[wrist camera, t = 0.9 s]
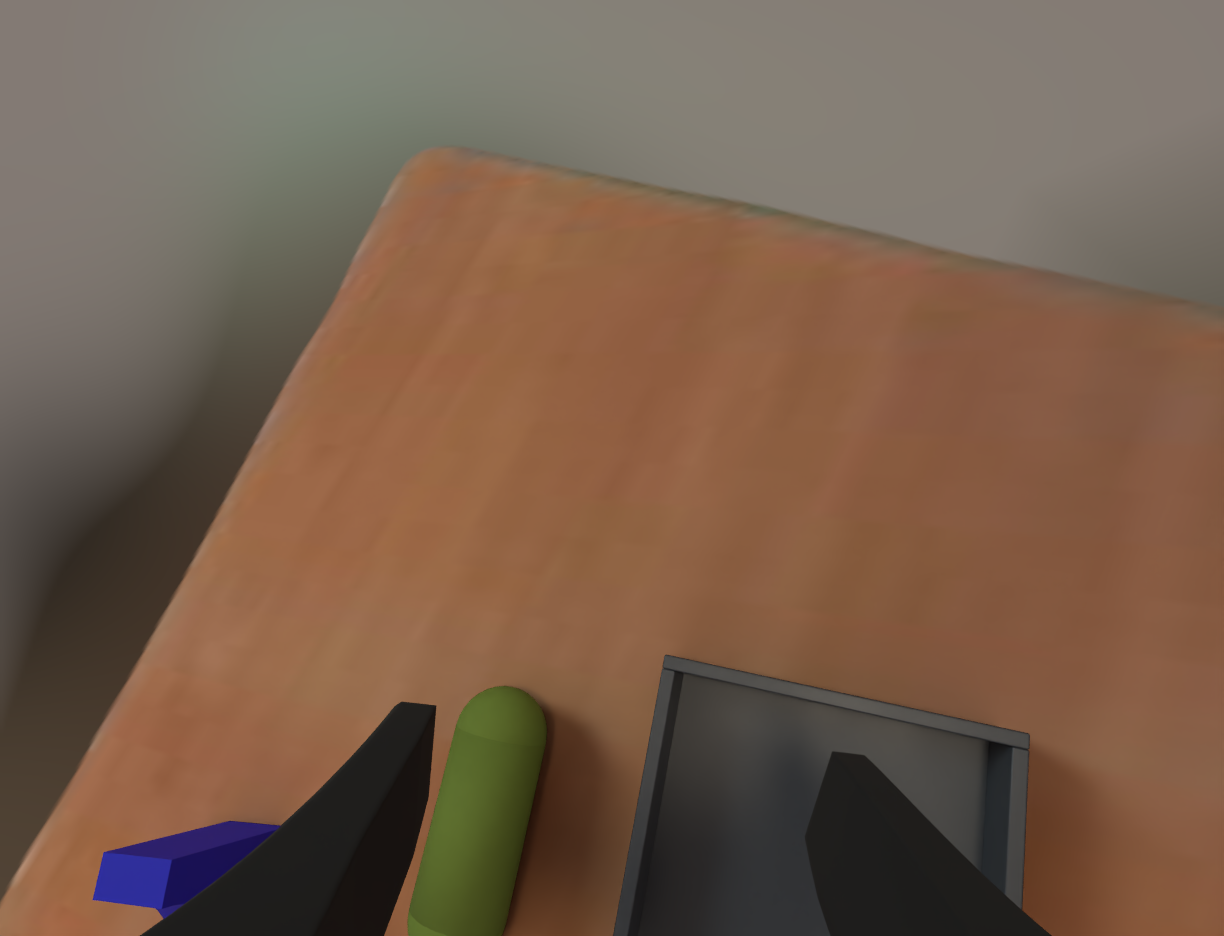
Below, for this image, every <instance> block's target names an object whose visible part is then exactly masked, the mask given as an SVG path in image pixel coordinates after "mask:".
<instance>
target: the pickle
mask: <svg viewBox="0 0 1224 936" xmlns="http://www.w3.org/2000/svg"><path fill="white" fill-rule="evenodd" d="M546 738H547V724H546V720H545V716H544V714H543V712H542V709H541V707H540V706H539V705H538V703H537V702H536V701H535V699H533V698H532V697H531V696H530V695H529V694H528V693H526V692H524V691H522V690H521V689H518V688H514V687H509V686H499V687H493V688H490V689H487V690H485V691H483V692H481V693H479V694H478V695H476V696H475V697H474V698H473V699H471V700H470V701H469V703H468V704H467V705H466V706H465V707H464V709H463V711H462V712H461V714H460V716H459V719H458V722H457V724H456V728H455V732H454V736H453V740H452V744H451V748H450V752H449V755H448V759H447V763H446V767H445V771H444V775H443V779H442V783H441V787H440V791H439V794H438V798H437V802H436V806H435V810H434V814H433V818H432V822H431V826H430V830H429V833H428V837H427V841H426V845H425V849H424V853H423V857H422V861H421V865H420V869H419V872H418V876H417V880H416V884H415V888H414V892H413V896H412V900H411V904H410V908H409V914H408V935H409V936H502V935H503V932H504V928H505V926H506V921H507V917H508V912H509V908H510V903H511V899H512V894H513V890H514V885H515V881H516V876H517V872H518V867H519V863H520V858H521V854H522V849H523V844H524V840H525V835H526V831H527V826H528V822H529V817H530V813H531V808H532V804H533V799H534V795H535V790H536V786H537V781H538V777H539V772H540V768H541V763H542V759H543V754H544V750H545V745H546Z"/></svg>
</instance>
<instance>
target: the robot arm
mask: <svg viewBox="0 0 1224 936" xmlns="http://www.w3.org/2000/svg"><path fill="white" fill-rule="evenodd" d="M435 715H436V706H435V705H426V704H418V703H409V702H400V703H399V704H397V705H396V706H394V708H393V709H392V710H391V711H390V713H389V714H388V715H387V716H386V718H385V719H384V720H383V721H382V722H381V724H380V725H379V726H378V727H377V728H376V730H375V731H374V732H373V733H372V734H371V735H370V736H369V738H368V739H367V740H366V741H365V742H364V743H363V744H362V745H361V747H360V748H359V749H358V750H357V751H356V752H355V753H354V754H353V755H352V756H351V758H350V759H349V760H348V761H347V762H346V763H345V764H344V765H343V766H342V767H341V768H340V769H339V770H338V771H337V772H336V773H335V774H334V775H333V776H332V777H331V778H330V779H329V780H328V781H327V782H326V783H325V784H324V785H323V786H322V787H321V788H320V789H319V790H318V791H317V792H316V793H315V794H314V795H313V796H312V797H311V798H310V799H309V800H308V801H307V802H306V803H305V804H304V805H303V806H302V807H301V808H299V809H298V810H297V811H296V812H295V813H294V814H293V815H292V816H291V817H290V818H289V819H288V820H287V821H286V822H284V823H283V824H282V825H281V826H280V827H279V828H278V829H277V830H276V831H275V832H274V833H272V834H271V835H270V836H269V837H268V838H267V839H266V840H264V841H263V842H262V843H261V844H260V845H259V846H257V847H256V848H255V849H254V850H253V851H252V852H250V853H249V854H248V855H247V856H246V857H244V858H243V859H242V860H241V861H239V862H238V863H237V864H236V865H234V866H233V867H232V868H231V869H229V870H228V871H227V872H226V873H225V874H223V875H222V876H221V877H220V878H218V879H217V880H216V881H214V882H213V883H212V884H210V885H209V886H208V887H206V888H205V889H204V890H202V891H201V892H200V893H198V894H197V895H196V896H194V897H193V898H192V899H190V900H189V901H188V902H186V903H185V904H184V905H182V906H181V907H180V908H178V909H177V910H176V911H174V912H173V913H172V914H170V915H169V916H167V917H166V918H165V919H163V920H162V921H160V922H159V923H157V924H156V925H155V926H153V927H152V928H150V929H149V930H147V931H146V932H145V933H143V934H142V935H140V936H384V934H385V932H386V929H387V926H388V923H389V921H390V918H391V915H392V913H393V910H394V907H395V905H396V902H397V899H398V896H399V894H400V891H401V888H402V886H403V883H404V880H405V877H406V875H407V872H408V869H409V866H410V864H411V861H412V858H413V855H414V851H415V847H416V843H417V840H418V836H419V832H420V828H421V824H422V821H423V817H424V813H425V809H426V805H427V801H428V797H429V785H430V774H431V762H432V750H433V739H434V727H435ZM805 841H806V846H807V851H808V856H809V861H810V866H811V871H812V875H813V879H814V884H815V888H816V892H817V897H818V900H819V903H820V906H821V909H822V912H823V915H824V918H825V921H826V924H827V927H828V930H829V933H830V936H1051V935H1050V934H1049V933H1048V932H1046V931H1045V930H1044V929H1043V928H1042V927H1041V926H1039V925H1038V924H1037V923H1036V922H1035V921H1034V920H1033V919H1031V918H1030V917H1029V916H1028V915H1027V914H1026V913H1025V912H1023V911H1022V910H1021V909H1020V908H1019V907H1018V906H1017V905H1016V904H1015V903H1014V902H1013V901H1011V900H1010V899H1009V898H1008V897H1007V896H1006V895H1005V894H1004V893H1003V892H1002V891H1001V890H1000V889H998V888H997V887H996V886H995V885H994V884H993V883H992V882H991V881H990V880H989V879H988V878H987V877H986V876H984V875H983V874H982V873H981V872H980V871H979V870H978V869H977V868H976V867H975V866H974V865H973V864H972V863H971V862H970V861H969V860H968V859H967V858H966V857H965V856H964V855H963V854H962V853H961V852H960V851H959V850H958V849H957V848H956V847H955V846H954V845H953V844H952V843H951V842H950V841H949V840H948V839H947V838H946V837H945V836H944V835H943V834H942V833H941V832H940V831H939V830H938V829H937V828H936V827H935V826H934V825H933V824H932V823H931V822H930V821H929V820H928V819H927V818H926V817H925V816H924V815H923V814H922V813H921V812H920V811H919V810H918V809H917V808H916V806H915V805H914V804H913V803H912V802H911V801H910V800H909V799H908V798H907V797H906V796H905V795H904V794H903V793H902V792H901V791H900V790H899V789H898V788H897V787H896V786H895V785H894V784H893V783H892V782H891V781H890V780H889V779H888V778H887V777H886V776H885V775H884V774H883V772H882V771H881V770H880V769H879V768H878V767H877V766H875V765H874V764H873V763H872V762H871V761H870V760H869V759H868V758H867V757H866V756H865V755H861V754H852V753H844V752H835V751H832V753H831V756H830V760H829V763H828V766H827V769H826V772H825V775H824V778H823V781H822V784H821V788H820V791H819V794H818V797H817V800H816V803H815V806H814V809H813V812H812V815H811V819H810V822H809V825H808V828H807V831H806V834H805Z"/></svg>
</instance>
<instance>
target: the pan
mask: <svg viewBox="0 0 1224 936" xmlns="http://www.w3.org/2000/svg"><path fill="white" fill-rule="evenodd" d="M663 668H664V669H662V673H661V678H660V684H659V689H658V695H657V700H656V706H655V711H654V716H653V722H652V727H651V733H650V738H649V744H648V749H647V754H646V760H645V765H644V771H643V776H642V782H641V787H640V792H639V798H638V803H637V809H636V814H635V820H634V825H633V830H632V836H631V841H630V847H629V852H628V858H627V863H626V868H625V874H624V879H623V885H622V890H621V896H620V901H619V906H618V912H617V917H616V923H615V928H614V934H613V936H830V933H829V930H828V927H827V924H826V921H825V918H824V915H823V912H822V909H821V906H820V903H819V900H818V897H817V892H816V888H815V884H814V879H813V875H812V871H811V866H810V861H809V856H808V851H807V846H806V841H805V834H806V831H807V828H808V825H809V822H810V819H811V815H812V812H813V809H814V806H815V803H816V800H817V797H818V794H819V791H820V788H821V784H822V781H823V778H824V775H825V772H826V769H827V766H828V763H829V760H830V756H831V753H832V751H835V752H844V753H852V754H861V755H865V756H866V757H867V758H868V759H869V760H870V761H871V762H872V763H873V764H874V765H875V766H877V767H878V768H879V769H880V770H881V771H882V772H883V774H884V775H885V776H886V777H887V778H888V779H889V780H890V781H891V782H892V783H893V784H894V785H895V786H896V787H897V788H898V789H899V790H900V791H901V792H902V793H903V794H904V795H905V796H906V797H907V798H908V799H909V800H910V801H911V802H912V803H913V804H914V805H915V806H916V808H917V809H918V810H919V811H920V812H921V813H922V814H923V815H924V816H925V817H926V818H927V819H928V820H929V821H930V822H931V823H932V824H933V825H934V826H935V827H936V828H937V829H938V830H939V831H940V832H941V833H942V834H943V835H944V836H945V837H946V838H947V839H948V840H949V841H950V842H951V843H952V844H953V845H954V846H955V847H956V848H957V849H958V850H959V851H960V852H961V853H962V854H963V855H964V856H965V857H966V858H967V859H968V860H969V861H970V862H971V863H972V864H973V865H974V866H975V867H976V868H977V869H978V870H979V871H980V872H981V873H982V874H983V875H984V876H986V877H987V878H988V879H989V880H990V881H991V882H992V883H993V884H994V885H995V886H996V887H997V888H998V889H1000V890H1001V891H1002V892H1003V893H1004V894H1005V895H1006V896H1007V897H1008V898H1009V899H1010V900H1011V901H1013V902H1014V903H1015V904H1016V905H1017V906H1018V907H1019V908H1020V909H1021V910H1022V901H1023V879H1024V856H1025V834H1026V812H1027V789H1028V767H1029V751H1028V750H1029V745H1030V735H1029V734H1028V733H1024V732H1020V731H1015V730H1010V729H1006V728H1001V727H997V726H992V725H987V724H983V723H978V722H974V721H969V720H964V719H960V718H955V717H951V716H946V715H941V714H937V713H932V712H928V711H923V710H918V709H914V708H909V707H905V706H900V705H895V704H891V703H886V702H882V701H877V700H872V699H868V698H863V697H859V696H854V695H849V694H845V693H840V692H836V691H831V690H826V689H822V688H817V687H813V686H808V685H803V684H799V683H794V682H790V681H785V680H780V679H776V678H771V677H767V676H762V675H758V674H753V673H748V672H744V671H739V670H735V669H730V668H725V667H721V666H716V665H712V664H707V663H702V662H698V661H693V660H689V659H684V658H679V657H675V656H670V655H665V657H664V662H663Z"/></svg>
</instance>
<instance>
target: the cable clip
mask: <svg viewBox="0 0 1224 936" xmlns="http://www.w3.org/2000/svg"><path fill="white" fill-rule="evenodd" d="M279 827H280V826H278V825H267V824H257V823H246V822H235V821H228V822H224V823H220V824H216V825H212V826H208V827H204V828H200V829H196V830H191V831H187V832H183V833H179V834H175V835H171V836H167V837H163V838H159V839H155V840H151V841H147V842H143V843H139V844H135V845H131V846H127V847H123V848H119V849H115V850H111V851H107V852H104V853H103V858H102V862H101V866H100V871H99V875H98V879H97V884H96V888H95V892H94V897H93V900H98V901H106V902H113V903H121V904H128V905H136V906H143V907H151V908H156V909H157V910H158V911H159V913H160V914H161V915H162V917H163V918H164V919H165V918H166V917H167V916H169V915H170V914H172V913H173V912H174V911H176V910H177V909H178V908H180V907H181V906H182V905H184V904H185V903H186V902H188V901H189V900H190V899H192V898H193V897H194V896H196V895H197V894H198V893H200V892H201V891H202V890H204V889H205V888H206V887H208V886H209V885H210V884H212V883H213V882H214V881H216V880H217V879H218V878H220V877H221V876H222V875H223V874H225V873H226V872H227V871H228V870H229V869H231V868H232V867H233V866H234V865H236V864H237V863H238V862H239V861H241V860H242V859H243V858H244V857H246V856H247V855H248V854H249V853H250V852H252V851H253V850H254V849H255V848H256V847H257V846H259V845H260V844H261V843H262V842H263V841H264V840H266V839H267V838H268V837H269V836H270V835H271V834H272V833H274V832H275V831H276V830H277V829H278V828H279Z"/></svg>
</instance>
